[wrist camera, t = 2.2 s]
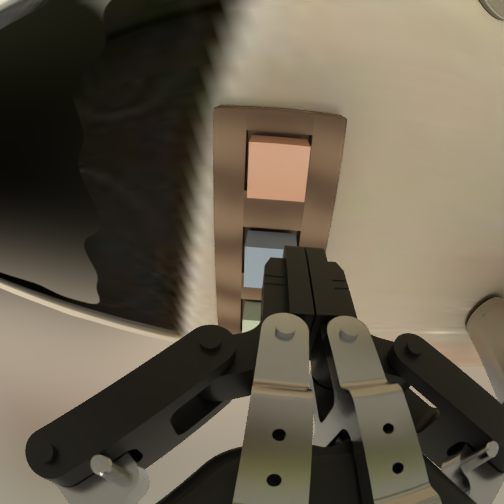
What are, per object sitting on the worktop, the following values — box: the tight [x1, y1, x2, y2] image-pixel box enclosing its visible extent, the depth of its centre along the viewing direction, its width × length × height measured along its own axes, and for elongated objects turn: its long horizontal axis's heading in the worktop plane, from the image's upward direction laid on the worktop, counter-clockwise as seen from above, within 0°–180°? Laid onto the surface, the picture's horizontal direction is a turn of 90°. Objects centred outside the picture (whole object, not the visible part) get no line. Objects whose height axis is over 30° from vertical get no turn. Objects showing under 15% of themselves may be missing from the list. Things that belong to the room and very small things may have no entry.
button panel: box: [213, 106, 347, 334], centre depth 33 cm, size 30×12×3 cm, turn 178°
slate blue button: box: [244, 230, 297, 288], centre depth 31 cm, size 5×5×3 cm
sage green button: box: [242, 301, 261, 333], centre depth 36 cm, size 5×5×3 cm
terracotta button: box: [247, 135, 311, 202], centre depth 25 cm, size 5×5×3 cm
